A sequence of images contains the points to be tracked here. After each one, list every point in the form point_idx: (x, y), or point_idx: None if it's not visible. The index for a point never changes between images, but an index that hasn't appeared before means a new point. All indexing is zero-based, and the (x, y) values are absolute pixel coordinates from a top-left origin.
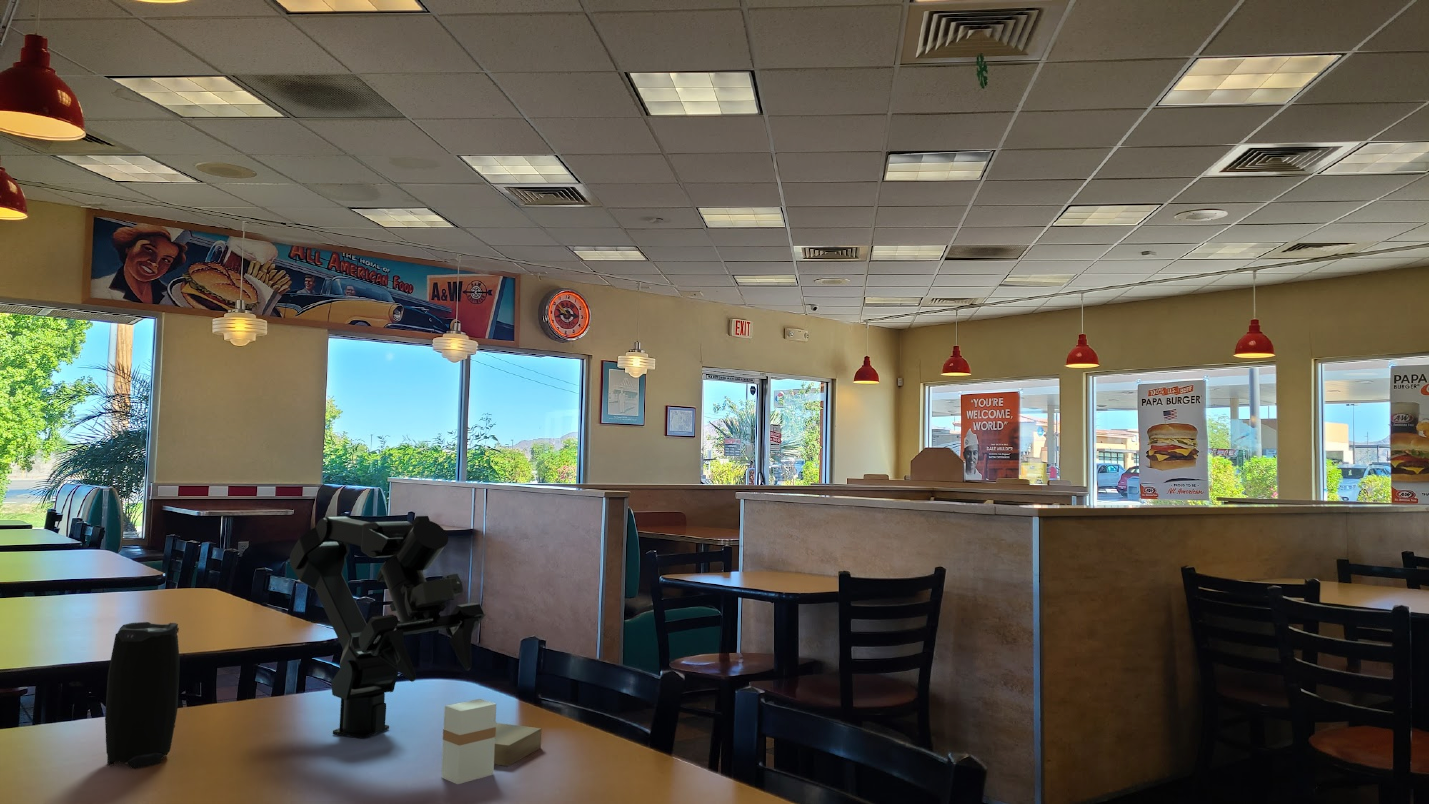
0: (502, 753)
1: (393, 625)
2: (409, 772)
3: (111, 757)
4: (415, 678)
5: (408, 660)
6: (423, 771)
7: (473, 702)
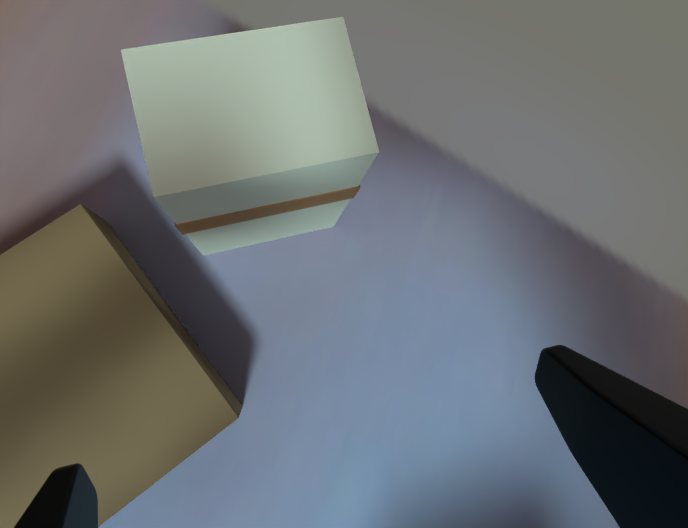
0: (106, 231)
1: None
2: (402, 322)
3: None
4: (544, 351)
5: (678, 426)
6: (362, 310)
7: (220, 140)
